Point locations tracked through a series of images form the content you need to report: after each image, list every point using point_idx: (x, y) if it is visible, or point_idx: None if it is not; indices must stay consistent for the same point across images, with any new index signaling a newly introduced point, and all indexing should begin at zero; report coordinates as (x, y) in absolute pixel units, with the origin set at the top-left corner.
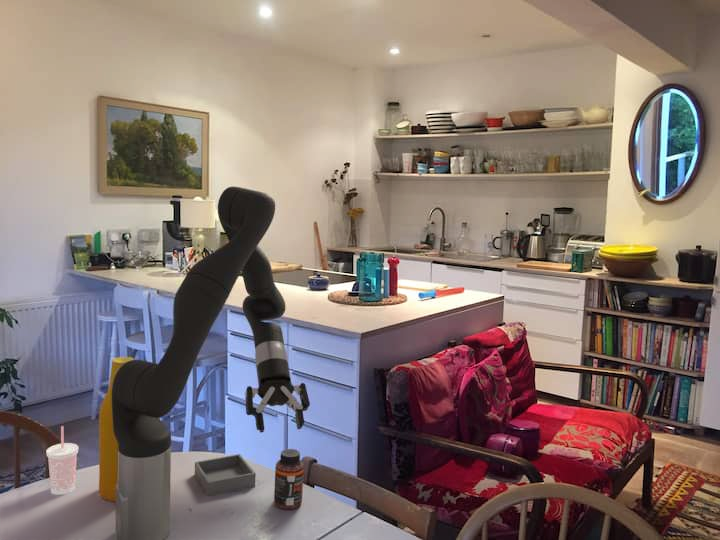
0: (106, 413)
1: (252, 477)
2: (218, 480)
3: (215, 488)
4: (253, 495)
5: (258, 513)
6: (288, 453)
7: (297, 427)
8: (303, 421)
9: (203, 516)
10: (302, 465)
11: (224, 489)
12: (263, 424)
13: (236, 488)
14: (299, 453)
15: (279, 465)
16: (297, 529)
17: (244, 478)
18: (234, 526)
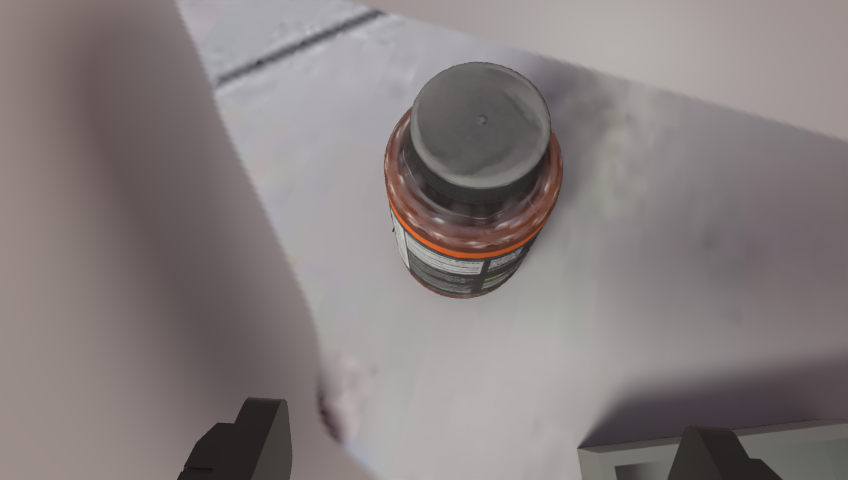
0: None
1: (609, 449)
2: (818, 430)
3: (806, 424)
4: (599, 356)
5: (601, 202)
6: (499, 108)
7: (287, 468)
8: (205, 444)
9: (832, 248)
10: (403, 116)
11: (748, 429)
12: (719, 457)
13: (680, 436)
14: (418, 95)
15: (550, 139)
16: (477, 60)
17: (658, 443)
18: (707, 143)
